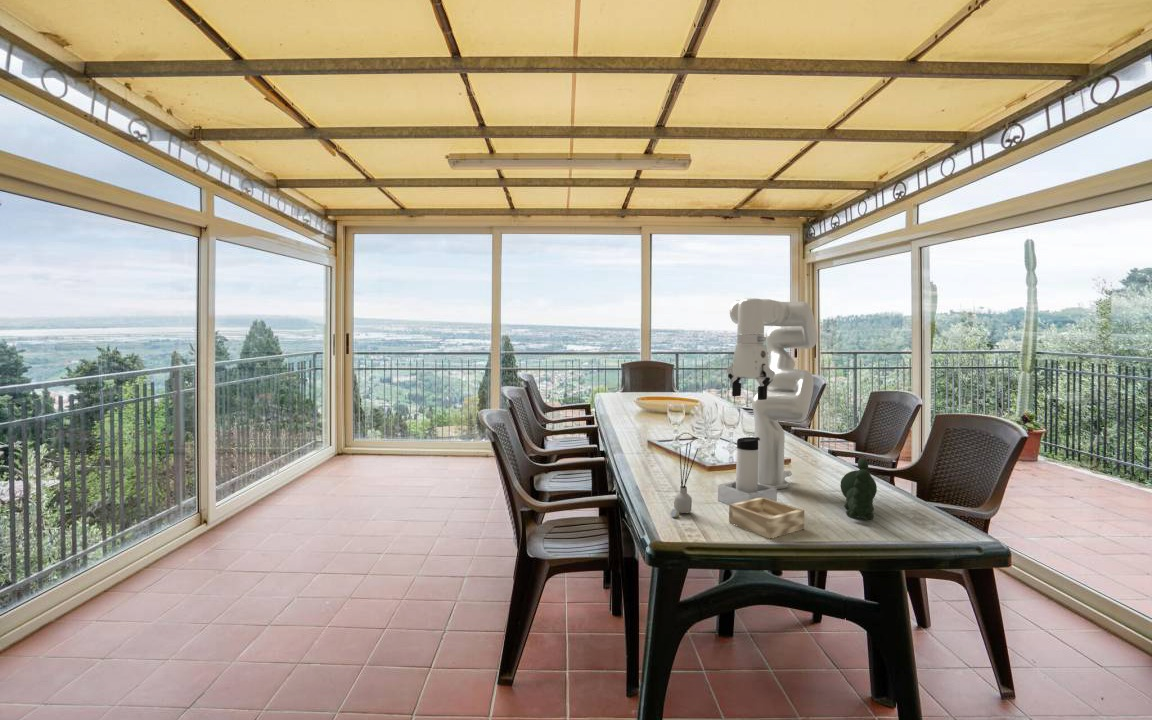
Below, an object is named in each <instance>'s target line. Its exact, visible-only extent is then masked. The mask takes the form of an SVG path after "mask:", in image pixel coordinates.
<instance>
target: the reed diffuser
mask: <svg viewBox="0 0 1152 720" xmlns="http://www.w3.org/2000/svg"><path fill="white" fill-rule="evenodd" d="M688 444H689V450H688ZM691 447H692V442H690V443H689V442H686V449H685V456H684V464H683V469H682V454H681V449H682V448H681V447H680V446H679V464H680V467H679V468H680V484H681V486H679V493H677V494H676V495H675V498H674V502H673V503H674V504H673V505H674V508H673V509H671V511H670V516H671V517H672V518H677V517H678V518H679V517H680V513H682V514H687V513H691V512H692V507H693V505H692V503H693V499H692V495H690V494H689V493H688V487H687V486H686V484H687V481H688V478H689V476H690V473H691V471H692V467H693V465H694V463H695V459H696V457H697V453H698V452H699V447H698V448H697V449H696V451H695V454H694V457H693V460H692V462H691V465H690V467H689V461H690V454H691ZM687 454H688V456H687ZM687 457H688V458H687ZM686 460H687V464H686ZM688 468H689V471H688ZM685 469H686V470H685ZM682 470H683V472H682ZM684 477H685V478H684Z"/></svg>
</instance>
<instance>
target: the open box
mask: <svg viewBox="0 0 1152 720" xmlns="http://www.w3.org/2000/svg"><path fill="white" fill-rule="evenodd" d="M777 495H778V489H777V488H773V487H770V486H767V485H763V484H760V483H758V490H757V492H753V493H746V492H743V491H740V490H737V489H736V480H734V481H730V482H724V483H718V484H717V501H718V502H720V501H721V502H720V503H723V502H724V503H723V504H726V503H727V504H726V505H728V504H729V505H730V504H734V503H738V502H743V501H747V500H751V499H756V498H760V497H765V498H768V499H771V500H774V501H777V499H778V496H777ZM777 502H778V501H777Z"/></svg>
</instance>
